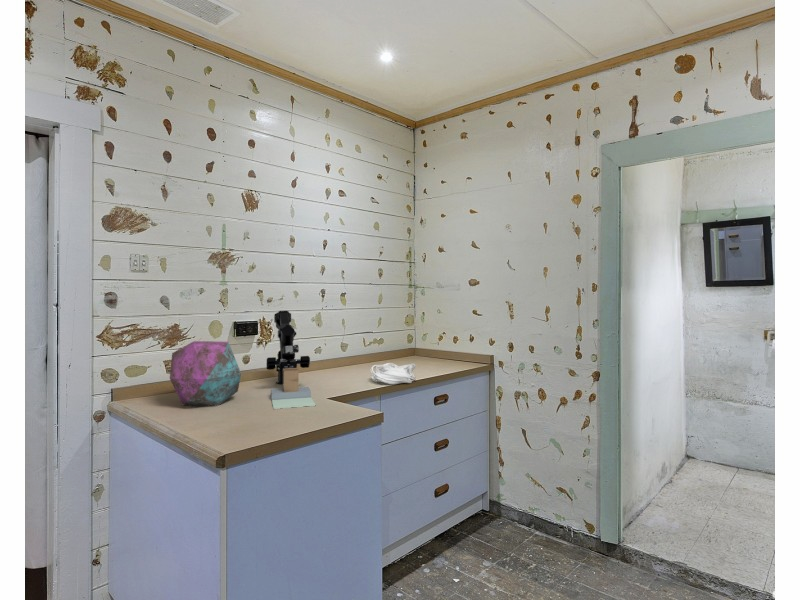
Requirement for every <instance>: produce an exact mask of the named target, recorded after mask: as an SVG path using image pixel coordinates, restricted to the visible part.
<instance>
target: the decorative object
mask: <svg viewBox="0 0 800 600" xmlns="http://www.w3.org/2000/svg"><path fill="white" fill-rule="evenodd" d="M241 376H242V372H241V369H240V367H239V365H238V362H237V360H236V358H235V355H234V352H233V350H232V348H231V344H230V343H229V341H212V340H211V341H209V340H208V341H205V340H204V341H202V340H201V341H198V340H194V341H192V342H190V343H188V344H186V345H185V346H184V345H183V346H182V347H181V348H179V349H177V350H175V351H173V352H172V354H171V364H170V372H169V380H170V382H171V384H172V386H173V388H174V389H175V390H174V391H175V392H176V394H177V396H178V398H179V400H180V402H181V404H182V405H183V404H190V405H189V406H208V405H216V406H217V405H219V406H220V405H221V404H223V403H224V402H225V401H227V400H228V399H230V398H231V397H232V396H234V395H235V394H236V393H238V392H239V387H240V381H241ZM216 406H215V407H216ZM217 407H218V406H217Z"/></svg>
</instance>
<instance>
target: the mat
mask: <svg viewBox="0 0 800 600" xmlns="http://www.w3.org/2000/svg"><path fill="white" fill-rule="evenodd" d="M271 403H272V408H273V410H281V409H280V408H283V409H292V408H291V407H297V408H304V407H303V406H310V407H316V406H315V405H316V403H315V401H314V400H313V398H312V396H311V397H309V398H295V399H280V400H271Z"/></svg>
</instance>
